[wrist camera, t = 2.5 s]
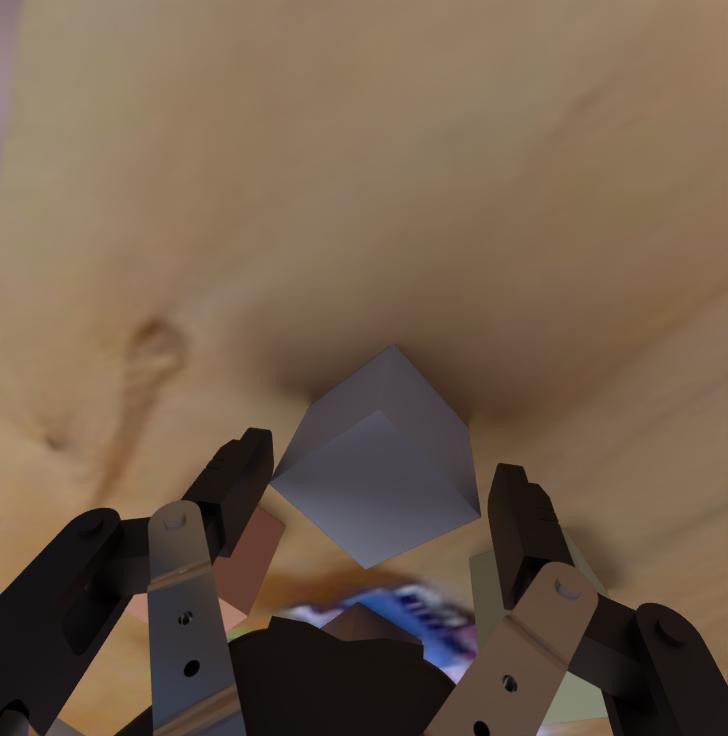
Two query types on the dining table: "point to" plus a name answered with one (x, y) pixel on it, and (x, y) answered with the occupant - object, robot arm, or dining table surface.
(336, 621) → the walnut cube
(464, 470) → the slate blue cube
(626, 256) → the dining table surface
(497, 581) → the sage green cube
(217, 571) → the terracotta cube
